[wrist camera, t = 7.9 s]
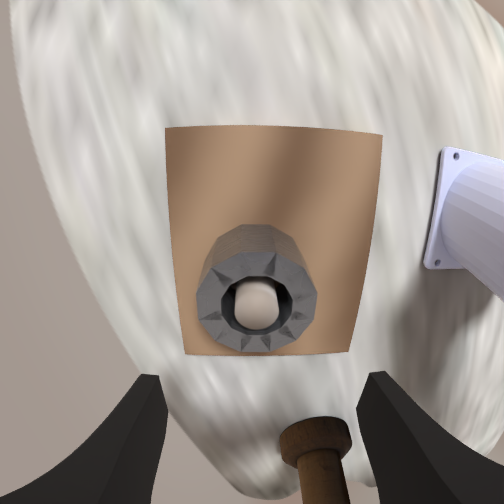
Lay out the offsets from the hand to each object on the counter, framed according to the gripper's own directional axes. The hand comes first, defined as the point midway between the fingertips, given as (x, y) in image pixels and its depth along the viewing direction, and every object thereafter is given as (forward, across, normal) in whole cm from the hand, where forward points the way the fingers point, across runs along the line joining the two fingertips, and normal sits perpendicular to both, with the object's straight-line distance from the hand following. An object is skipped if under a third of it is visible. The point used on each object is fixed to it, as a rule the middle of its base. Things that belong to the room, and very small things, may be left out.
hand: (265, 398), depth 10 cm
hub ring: (+8, 0, -1) cm, 8 cm away
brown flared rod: (+10, -6, +18) cm, 21 cm away
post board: (+9, -1, -1) cm, 10 cm away
